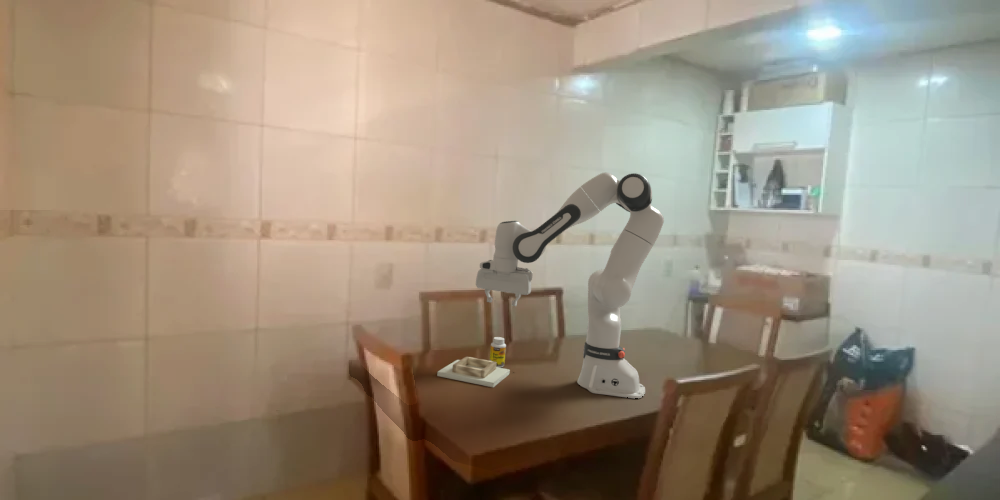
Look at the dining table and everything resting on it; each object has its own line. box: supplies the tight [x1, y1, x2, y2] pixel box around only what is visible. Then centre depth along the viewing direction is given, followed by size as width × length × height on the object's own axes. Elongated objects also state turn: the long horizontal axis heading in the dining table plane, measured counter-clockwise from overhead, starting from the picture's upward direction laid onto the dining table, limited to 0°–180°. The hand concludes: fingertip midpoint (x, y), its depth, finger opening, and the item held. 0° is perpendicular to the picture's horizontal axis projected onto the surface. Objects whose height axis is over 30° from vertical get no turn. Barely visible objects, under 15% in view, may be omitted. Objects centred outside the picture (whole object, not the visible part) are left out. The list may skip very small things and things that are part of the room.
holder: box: [436, 355, 511, 388], centre depth 182 cm, size 20×16×4 cm
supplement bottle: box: [488, 336, 507, 368], centre depth 194 cm, size 6×6×10 cm
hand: (501, 303), depth 192 cm, fingers open, 8 cm apart
